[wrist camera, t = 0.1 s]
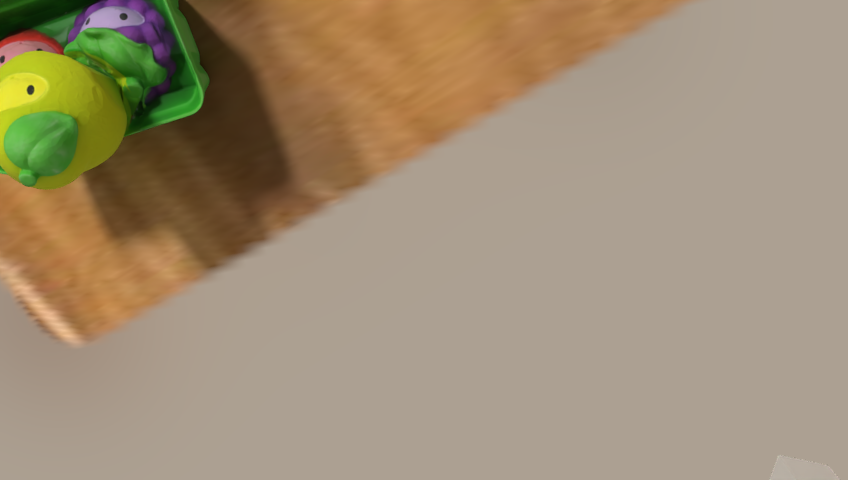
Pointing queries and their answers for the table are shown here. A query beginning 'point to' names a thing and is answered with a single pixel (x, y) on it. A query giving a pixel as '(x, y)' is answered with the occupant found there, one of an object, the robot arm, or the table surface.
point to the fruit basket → (89, 81)
